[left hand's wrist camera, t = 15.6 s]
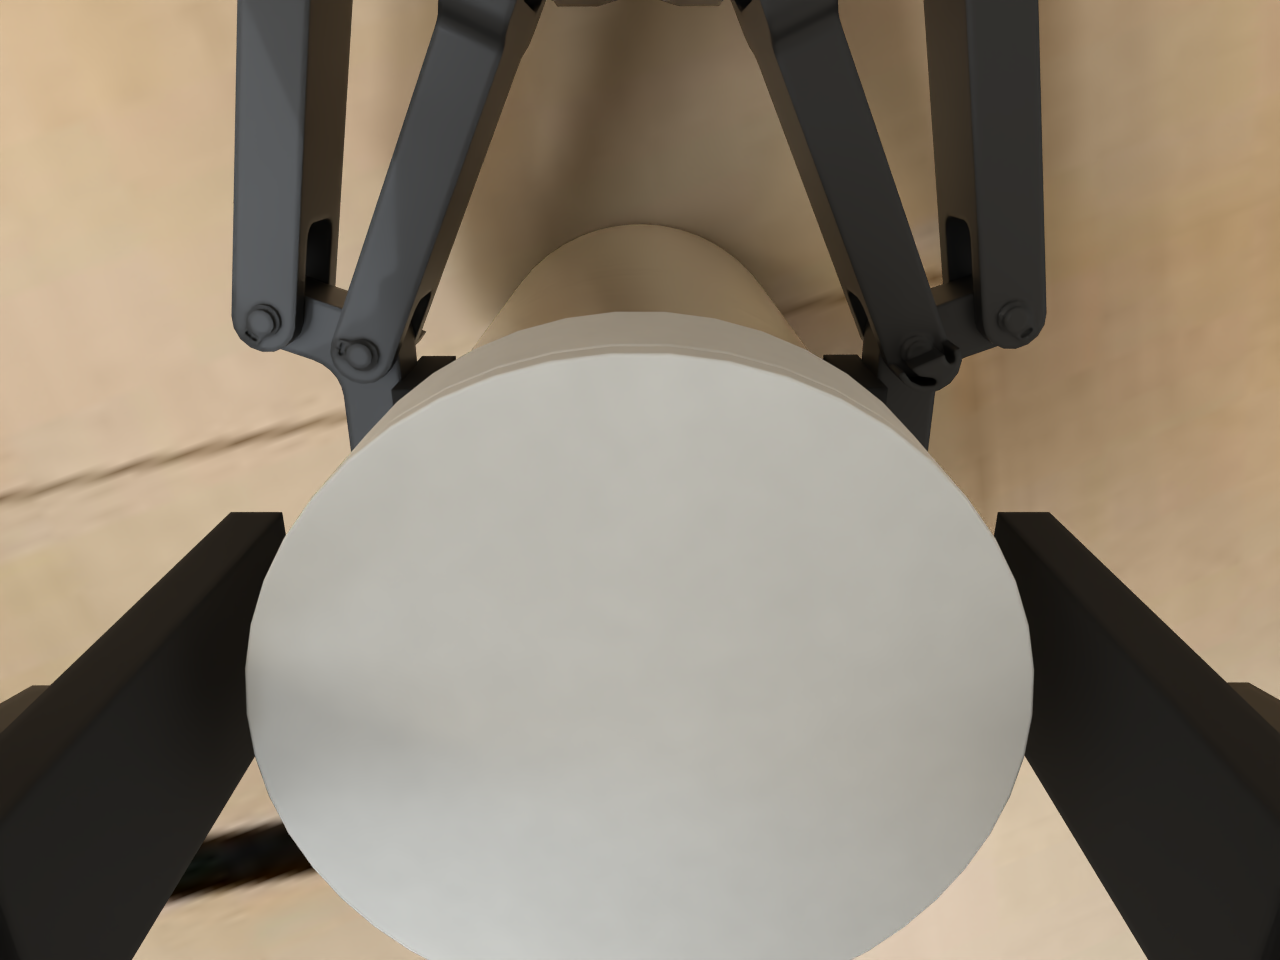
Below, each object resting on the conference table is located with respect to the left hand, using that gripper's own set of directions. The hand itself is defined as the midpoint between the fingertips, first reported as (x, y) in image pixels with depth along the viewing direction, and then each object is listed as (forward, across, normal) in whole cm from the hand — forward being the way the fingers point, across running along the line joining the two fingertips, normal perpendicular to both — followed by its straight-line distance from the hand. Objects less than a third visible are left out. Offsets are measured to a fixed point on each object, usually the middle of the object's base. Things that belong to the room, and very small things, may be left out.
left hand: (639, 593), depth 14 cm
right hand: (+6, 0, -5) cm, 8 cm away
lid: (-3, 0, 0) cm, 3 cm away
